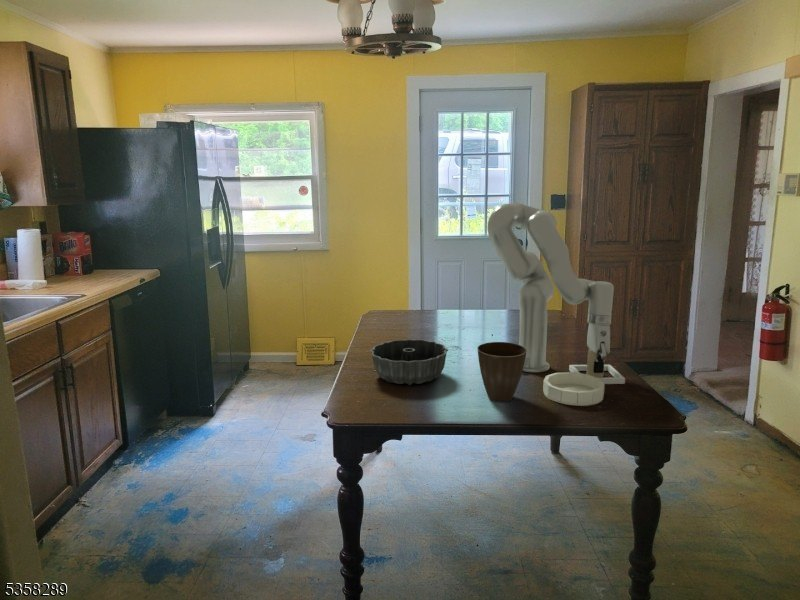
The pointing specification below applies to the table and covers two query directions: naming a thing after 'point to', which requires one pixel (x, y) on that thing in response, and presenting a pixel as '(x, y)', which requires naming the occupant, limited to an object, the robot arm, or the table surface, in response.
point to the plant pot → (501, 368)
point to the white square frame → (607, 380)
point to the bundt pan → (409, 360)
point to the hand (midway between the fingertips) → (595, 369)
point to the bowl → (573, 388)
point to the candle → (592, 365)
